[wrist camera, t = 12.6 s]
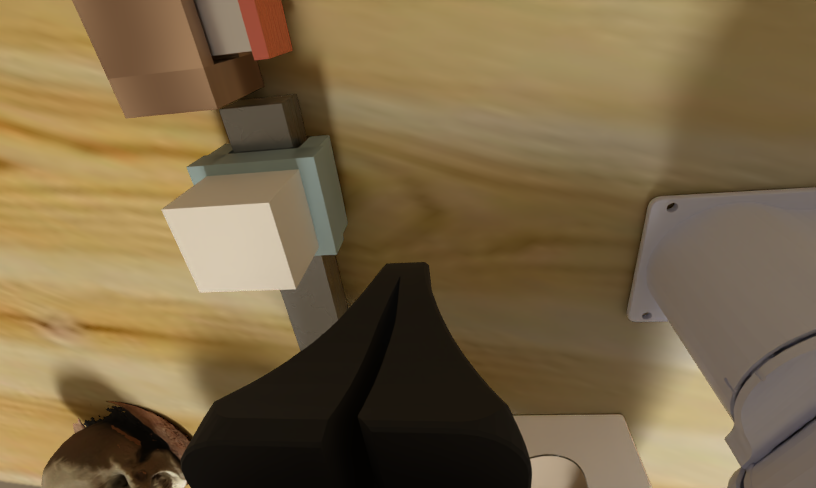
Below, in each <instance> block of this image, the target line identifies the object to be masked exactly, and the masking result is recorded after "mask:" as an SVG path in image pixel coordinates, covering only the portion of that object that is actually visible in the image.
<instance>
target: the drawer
mask: <svg viewBox="0 0 816 488" xmlns="http://www.w3.org/2000/svg"><path fill="white" fill-rule="evenodd" d="M193 1H194V4H195V7H196V10H197V13H198V17H199V20H200V23H201V26H202V29H203V32H204V35H205V38H206V41H207V44H208V47H209V50H210V53H211V56H215V55H224V54H232V53H240V52H249V51H252V54H253V57H254V60H262V59H270V58H273V57H276V56H278V55H281V54H284V53H287V52H290V51H293V49H292V45H291V41H290V36H289V32H288V28H287V24H286V19H285V15H284V11H283V6H282V2H281V0H193Z"/></svg>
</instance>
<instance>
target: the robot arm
mask: <svg viewBox="0 0 816 488" xmlns="http://www.w3.org/2000/svg"><path fill="white" fill-rule="evenodd" d="M671 203H675V204H674V206H673V207H672V208H670V209H667V206H668V205H669V204H671ZM647 312H648V313H647ZM644 313H647V314H646V315H643V314H644ZM627 316H628V318H629V320H631V321H632V322H666V321H669V323H670V324H671V326H672V327H673V329H674V330H675V332H676V334H677V335H678V337H679V338H680V340H681V341H682V343H683V344H684V346H685V348H686V349H687V351H688V352H689V354H690V355H691V357H692V358H693V360H694V361H695V363H696V365H697V366H698V368H699V369H700V371H701V372H702V374H703V375H704V377H705V378H706V380H707V382H708V383H709V385H710V386H711V388H712V389H713V391H714V392H715V394H716V395H717V397H718V399H719V400H720V402H721V403H722V405H723V406H724V408H725V409H726V411H727V412H728V414H729V416H730V417H731V419H732V420H733V422H734V427H733V429H732V431H731V432H730V433H729V434H728V435H727V436H726V437H725V441H726V442H727V444H728V446H729V447H730V449H731V451H732V452H733V454H734V456H735V457H736V459H737V461H738V462H739V464H740V466H741V468H739V469H738V470H737V471H735V472H734V474H733V475H732V477H731V478H730V480H729V483H728V487H727V488H816V187H811V188H793V189H776V190H759V191H742V192H724V193H707V194H690V195H673V196H659V197H656V198H654V199H652V200H651V201H650V202H649V205H648V208H647V213H646V218H645V223H644V228H643V233H642V238H641V243H640V248H639V253H638V258H637V263H636V268H635V273H634V278H633V283H632V288H631V293H630V298H629V303H628V308H627ZM181 470H182V473H183V475H184V477H185V479H186V481H187V483H188V484H189V485H190V487H191V488H531V483H532V466H531V461H530V457H529V454H528V450H527V447H526V444H525V442H524V439H523V437H522V434H521V432H520V430H519V428H518V425H517V423H516V421H515V419H514V417H513V415H512V413H511V411H510V409H509V407H508V405H507V404H506V403H505V402H504V401H503V400H502V399H501V398H500V397H499V396H498V395H497V394H496V393H495V392H494V391H493V390H492V389H491V388H490V387H489V386H488V385H487V383H486V382H485V381H484V380H483V379H482V378H481V377H480V375H479V374H478V373H477V372H476V370H475V369H474V368H473V366H472V365H471V364H470V362H469V361H468V360H467V358H466V357H465V356H464V354H463V353H462V351H461V350H460V348H459V347H458V345H457V344H456V342H455V340H454V339H453V337H452V335H451V334H450V332H449V330H448V328H447V326H446V324H445V322H444V320H443V318H442V316H441V314H440V312H439V309H438V307H437V304H436V301H435V299H434V296H433V293H432V290H431V280H430V271H429V265H428V264H427V263H425V262H417V263H392V264H386V265H385V266H384V267H383V268H382V269H381V271H380V272H379V273H378V274H377V276H376V277H375V278H374V280H373V281H372V282H371V283H370V285H369V286H368V287H367V288H366V290H365V291H364V292H363V293H362V294H361V295H360V297H359V298H358V299H357V300H356V301H355V303H354V304H353V305H352V306H351V307H350V308H349V309H348V310H347V311H346V312H345V313H344V314H343V315H342V316H341V317H340V318H339V320H338V321H337V322H336V323H335V324H333V325H332V326H331V327H330V328H329V329H328V330H327V331H326V332H325V333H324V334H322V335H321V336H320V337H319V338H318V339H316V340H315V341H314V342H313V343H312V344H310V345H309V346H307V347H306V348H305V349H303V350H302V351H301V352H299V353H298V354H297V355H295V356H294V357H292V358H291V359H290V360H288V361H287V362H285V363H284V364H282V365H281V366H279V367H278V368H276V369H274V370H273V371H271V372H270V373H268V374H266V375H264V376H263V377H261V378H259V379H258V380H256V381H254V382H252V383H251V384H249V385H247V386H245V387H243V388H241V389H239V390H237V391H235V392H233V393H231V394H229V395H227V396H225V397H223V398H221V399H219V400H217V401H215V402H214V403H213V405H212V406H211V408H210V409H209V411H208V412H207V414H206V416H205V417H204V419H203V420H202V422H201V424H200V426H199V427H198V429H197V431H196V433H195V434H194V436H193V438H192V439H191V441H190V443H189V445H188V446H187V448H186V450H185V452H184V453H183V455H182V457H181Z"/></svg>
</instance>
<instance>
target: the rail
mask: <svg viewBox="0 0 816 488" xmlns="http://www.w3.org/2000/svg"><path fill="white" fill-rule="evenodd" d="M219 111H220V114H221V117H222V120H223V123H224V126H225V129H226V132H227V135H228V138H229V141H230V144H231V147H232V149H233V152H234V153H245V152H257V151H269V150H281V149H293V148H299V147H300V146H301V145H302V144H303V143H304V142H305V141H306V140H307V136H306V132H305V128H304V124H303V120H302V116H301V111H300V107H299V103H298V99H297V95H296V94H293V95H283V96H273V97H263V98H254V99H244V100H238V101H236V102H234V103H232V104H230V105H228V106H226V107H224V108H222V109H220V110H219ZM280 291H281V294H282V297H283V300H284V303H285V306H286V309H287V312H288V315H289V318H290V321H291V324H292V327H293V330H294V333H295V336H296V338H297V341H298V344H299V347H300V350H301V351H302V350H303V349H305V348H306V347H307V346H309V345H310V344H312V343H313V342H314V341H315V340H316V339H318V338H319V337H320V336H321V335H322V334H324V333H325V332H326V331H327V330H328V329H329V328H330V327H331V326H332V325H333V324H335V323H336V322H337V321H338V320H339V318H340V317H341V316H342V315H343V314H344V313H345V312H346V311H347V310H348V307H347V302H346V298H345V294H344V290H343V286H342V282H341V277H340V273H339V269H338V265H337V261H336V257H335V255H319V256H314V257H313V259H312V261H311V263H310V264H309V266H308V268H307V270H306V272H305V274H304V276H303V277H302V279H301V281H300V283H299V285H298V287H297V289H290V290H280Z"/></svg>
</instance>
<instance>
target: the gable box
mask: <svg viewBox="0 0 816 488" xmlns="http://www.w3.org/2000/svg"><path fill="white" fill-rule="evenodd" d="M513 417H514V419H515V421H516V423H517V425H518V428H519V430H520V432H521V434H522V437H523V439H524V442H525V444H526V447H527V450H528V454H529V457H530V461H531V466H532V483H531V488H652V486H651V484H650V481H649V479H648V476H647V474H646V471H645V468H644V466H643V463H642V461H641V458H640V456H639V453H638V451H637V448H636V446H635V443H634V441H633V438H632V436H631V433H630V431H629V428H628V426H627V423H626V420H625V418H624V416H622V415H620V414H592V415H513Z"/></svg>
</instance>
